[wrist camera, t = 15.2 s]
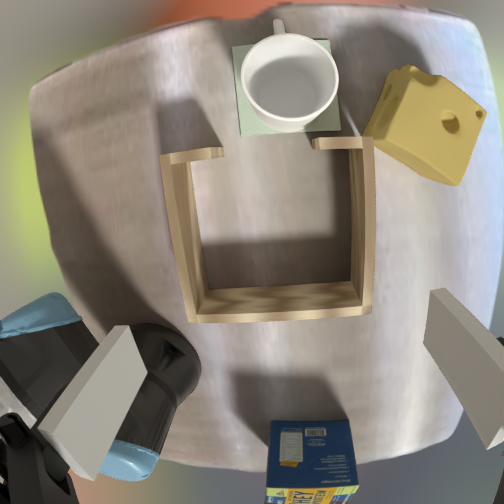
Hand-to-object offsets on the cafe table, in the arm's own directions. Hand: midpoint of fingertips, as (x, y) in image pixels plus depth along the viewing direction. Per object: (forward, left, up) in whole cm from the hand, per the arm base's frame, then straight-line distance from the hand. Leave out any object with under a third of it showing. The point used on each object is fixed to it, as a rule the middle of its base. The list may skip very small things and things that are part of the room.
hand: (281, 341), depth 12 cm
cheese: (+17, +10, -28) cm, 34 cm away
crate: (-1, -2, -27) cm, 27 cm away
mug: (+2, +15, -27) cm, 31 cm away
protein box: (+3, -45, -28) cm, 53 cm away
